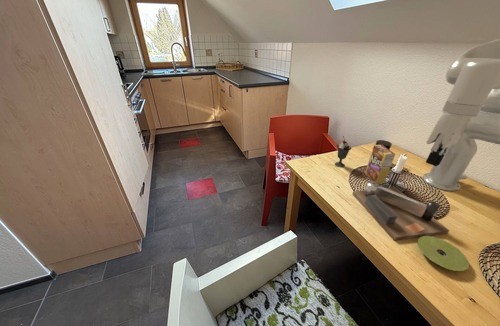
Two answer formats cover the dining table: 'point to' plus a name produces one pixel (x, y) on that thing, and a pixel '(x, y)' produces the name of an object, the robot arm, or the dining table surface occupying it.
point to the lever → (402, 201)
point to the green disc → (443, 253)
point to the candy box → (379, 163)
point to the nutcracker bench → (398, 218)
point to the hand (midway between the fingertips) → (432, 163)
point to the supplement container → (384, 143)
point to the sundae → (342, 152)
